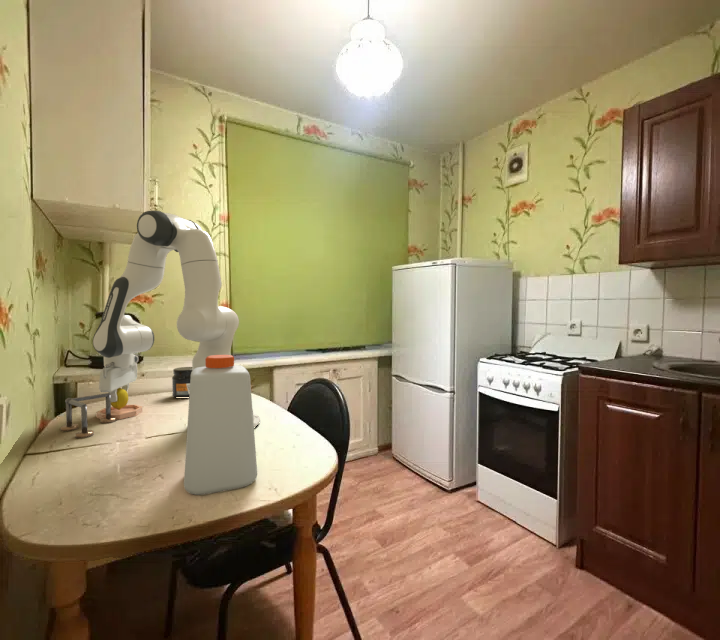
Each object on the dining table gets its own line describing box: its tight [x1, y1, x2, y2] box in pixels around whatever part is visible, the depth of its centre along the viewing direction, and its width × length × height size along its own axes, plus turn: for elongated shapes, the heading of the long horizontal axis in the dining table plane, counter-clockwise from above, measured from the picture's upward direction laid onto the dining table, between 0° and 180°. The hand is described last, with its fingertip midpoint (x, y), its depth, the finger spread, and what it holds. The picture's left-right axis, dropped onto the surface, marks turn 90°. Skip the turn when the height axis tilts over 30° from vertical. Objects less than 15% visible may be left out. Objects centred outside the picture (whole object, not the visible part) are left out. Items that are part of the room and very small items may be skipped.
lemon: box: [111, 387, 129, 410], centre depth 133 cm, size 6×6×8 cm
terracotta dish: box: [95, 403, 143, 421], centre depth 133 cm, size 13×13×2 cm
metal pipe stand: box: [59, 392, 117, 439], centre depth 118 cm, size 12×18×10 cm
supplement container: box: [171, 366, 192, 398], centre depth 160 cm, size 10×10×12 cm
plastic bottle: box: [183, 354, 258, 496], centre depth 85 cm, size 15×15×28 cm
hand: (119, 399), depth 133 cm, fingers closed on lemon, 5 cm apart
